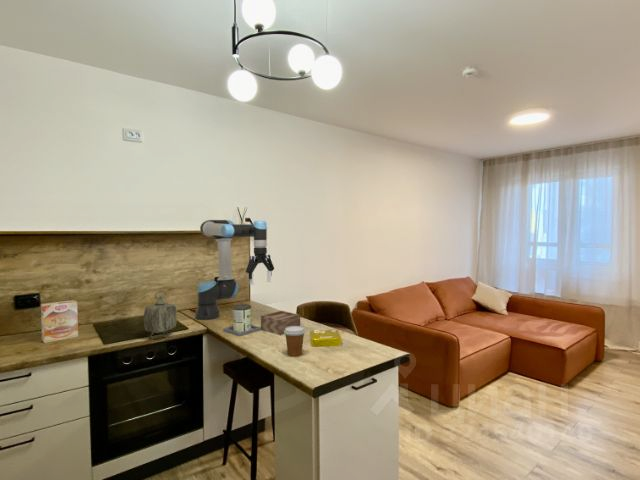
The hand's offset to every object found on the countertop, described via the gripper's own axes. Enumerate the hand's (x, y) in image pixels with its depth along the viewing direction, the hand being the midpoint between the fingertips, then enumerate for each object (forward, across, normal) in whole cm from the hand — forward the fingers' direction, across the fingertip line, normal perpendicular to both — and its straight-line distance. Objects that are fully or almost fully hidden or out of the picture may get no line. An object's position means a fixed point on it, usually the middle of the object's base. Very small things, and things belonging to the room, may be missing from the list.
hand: (260, 283), depth 207 cm
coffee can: (+26, -11, +3) cm, 29 cm away
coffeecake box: (+27, -80, +70) cm, 109 cm away
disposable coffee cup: (+26, -21, -46) cm, 57 cm away
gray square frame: (+26, -11, +3) cm, 29 cm away
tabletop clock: (+26, -45, +29) cm, 60 cm away
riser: (+26, +4, -12) cm, 29 cm away
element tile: (+26, +2, -46) cm, 54 cm away
